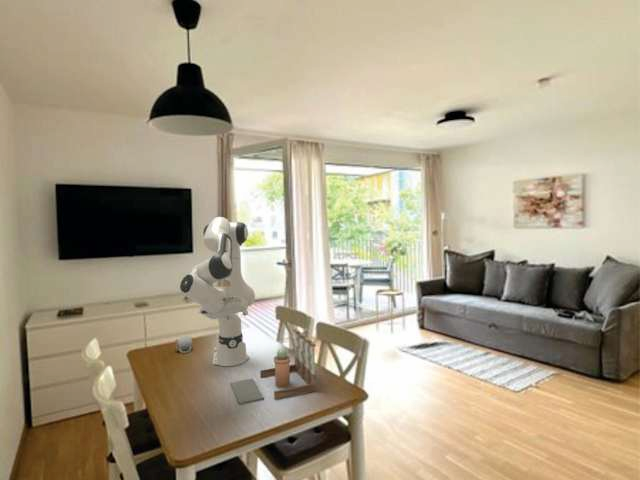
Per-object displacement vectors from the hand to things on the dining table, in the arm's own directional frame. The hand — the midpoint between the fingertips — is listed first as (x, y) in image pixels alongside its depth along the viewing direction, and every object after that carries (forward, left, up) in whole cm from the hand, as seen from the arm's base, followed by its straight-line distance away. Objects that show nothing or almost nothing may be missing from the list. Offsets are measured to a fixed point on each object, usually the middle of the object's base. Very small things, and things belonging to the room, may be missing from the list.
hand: (238, 316), depth 158 cm
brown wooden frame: (+5, +20, -31) cm, 37 cm away
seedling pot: (+5, +18, -31) cm, 36 cm away
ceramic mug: (-60, -19, -32) cm, 71 cm away
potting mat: (+5, +2, -31) cm, 32 cm away
